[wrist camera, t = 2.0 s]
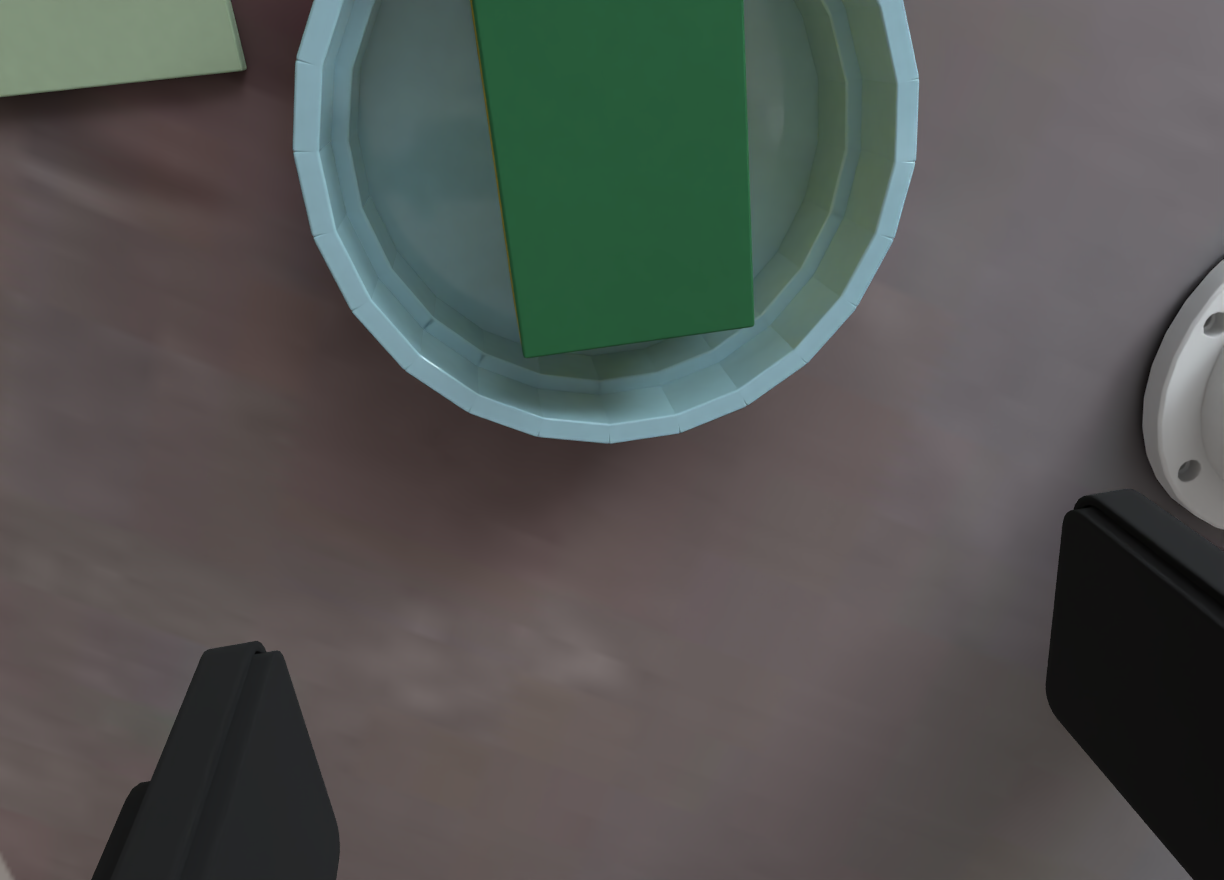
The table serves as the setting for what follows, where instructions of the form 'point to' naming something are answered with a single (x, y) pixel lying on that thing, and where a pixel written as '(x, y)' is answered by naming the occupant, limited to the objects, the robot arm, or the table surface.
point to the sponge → (620, 167)
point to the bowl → (473, 231)
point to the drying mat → (113, 42)
